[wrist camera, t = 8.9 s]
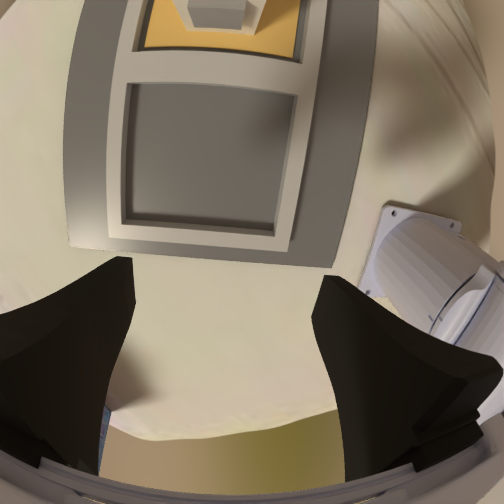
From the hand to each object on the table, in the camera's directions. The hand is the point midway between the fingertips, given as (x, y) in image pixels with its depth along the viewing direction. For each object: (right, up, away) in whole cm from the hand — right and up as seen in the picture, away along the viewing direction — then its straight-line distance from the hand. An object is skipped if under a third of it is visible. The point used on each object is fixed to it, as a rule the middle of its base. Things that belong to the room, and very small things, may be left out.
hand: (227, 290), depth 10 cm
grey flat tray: (-1, +12, +4) cm, 13 cm away
